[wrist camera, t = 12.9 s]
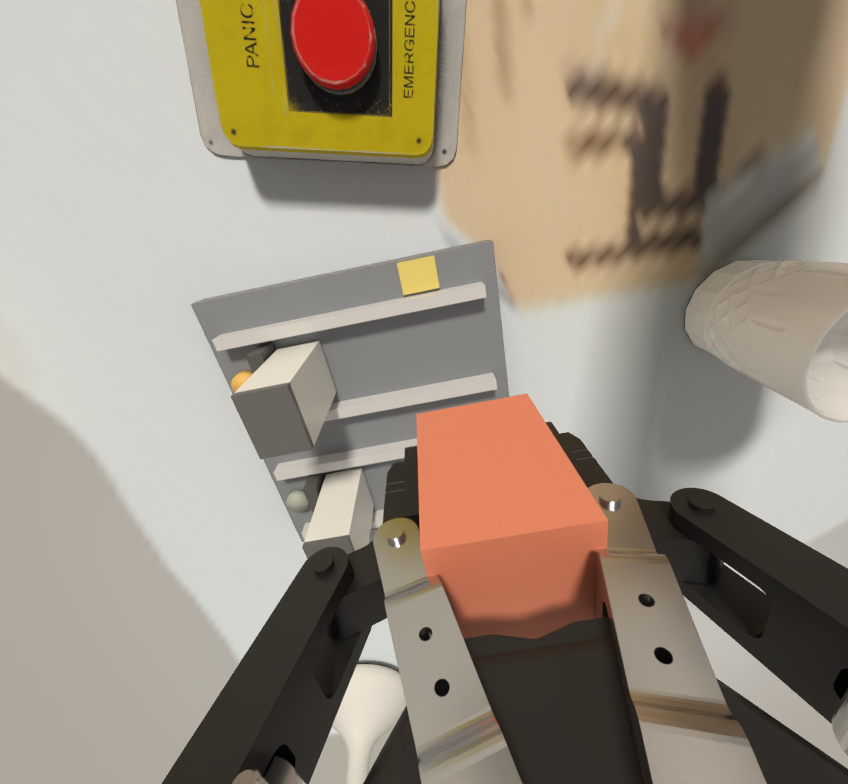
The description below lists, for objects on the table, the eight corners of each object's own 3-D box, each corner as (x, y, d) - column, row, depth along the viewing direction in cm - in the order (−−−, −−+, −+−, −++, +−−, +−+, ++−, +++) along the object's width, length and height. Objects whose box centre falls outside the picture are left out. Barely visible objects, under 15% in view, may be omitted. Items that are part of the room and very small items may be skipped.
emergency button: (463, 159, 19) (166, 144, 19) (454, 168, 23) (209, 156, 23) (482, -105, 15) (105, -137, 15) (467, -39, 19) (170, -62, 19)
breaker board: (488, 239, 25) (501, 244, 21) (515, 493, 34) (527, 525, 31) (202, 299, 26) (169, 313, 22) (306, 529, 35) (294, 564, 32)
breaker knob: (361, 467, 30) (347, 539, 24) (373, 504, 32) (364, 581, 25) (325, 474, 30) (302, 547, 24) (340, 510, 32) (321, 588, 25)
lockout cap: (533, 481, 15) (603, 634, 9) (435, 498, 15) (449, 656, 10) (526, 393, 13) (607, 520, 8) (416, 413, 13) (420, 550, 8)
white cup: (781, 228, 25) (992, 235, 16) (790, 328, 28) (970, 382, 19) (665, 285, 26) (797, 321, 17) (685, 374, 29) (807, 445, 20)
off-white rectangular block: (319, 340, 25) (287, 385, 19) (336, 392, 27) (312, 449, 20) (277, 348, 26) (230, 396, 19) (296, 399, 27) (260, 459, 21)
